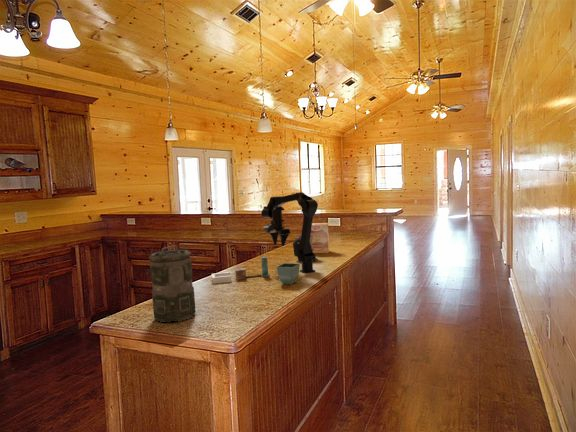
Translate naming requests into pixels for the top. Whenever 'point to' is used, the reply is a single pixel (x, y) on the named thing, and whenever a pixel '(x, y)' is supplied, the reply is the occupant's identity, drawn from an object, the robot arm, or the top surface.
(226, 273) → the lane
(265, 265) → the tethered block
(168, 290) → the canister
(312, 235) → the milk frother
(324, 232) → the coffeecake box
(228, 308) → the top surface
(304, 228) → the robot arm
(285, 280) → the flower pot
